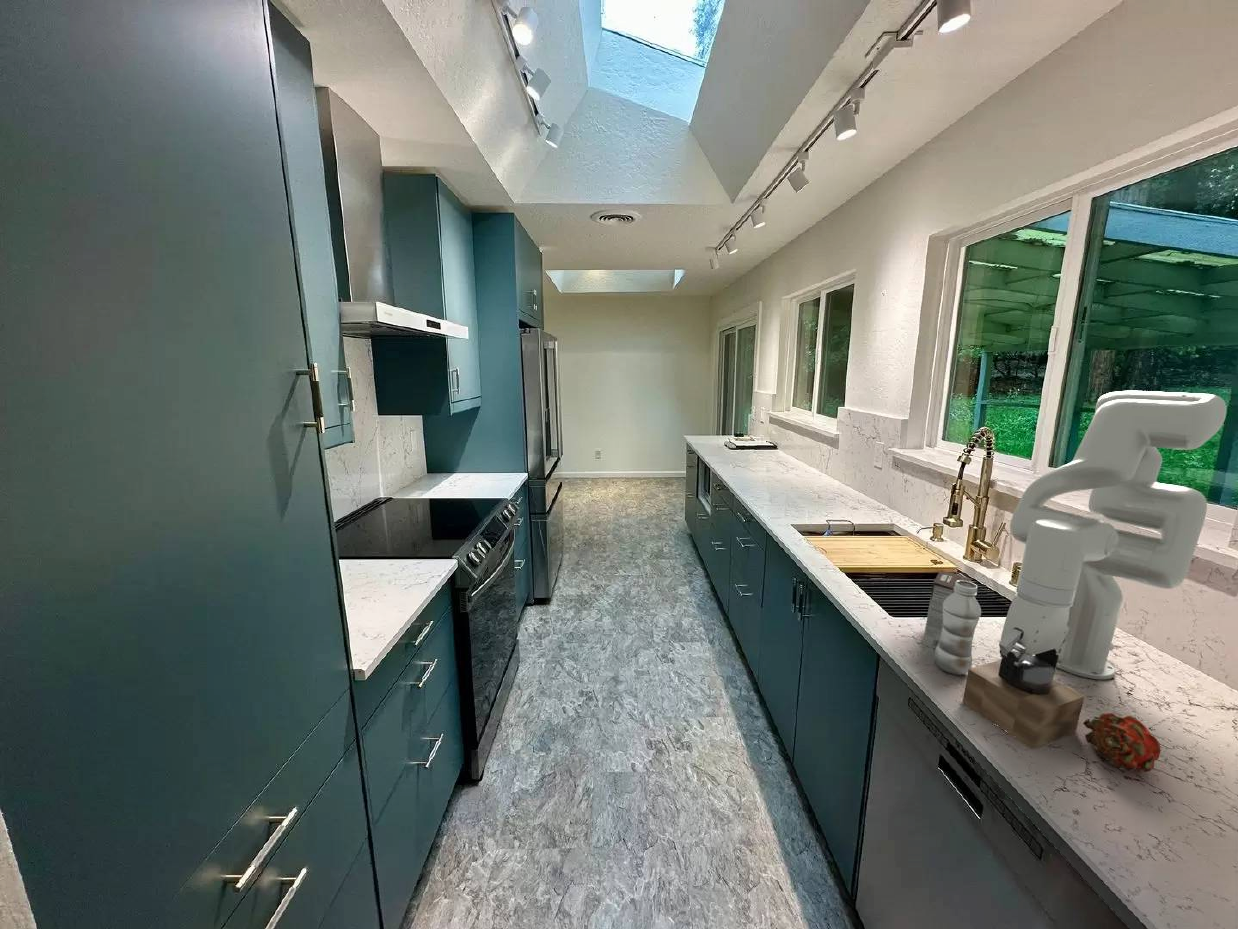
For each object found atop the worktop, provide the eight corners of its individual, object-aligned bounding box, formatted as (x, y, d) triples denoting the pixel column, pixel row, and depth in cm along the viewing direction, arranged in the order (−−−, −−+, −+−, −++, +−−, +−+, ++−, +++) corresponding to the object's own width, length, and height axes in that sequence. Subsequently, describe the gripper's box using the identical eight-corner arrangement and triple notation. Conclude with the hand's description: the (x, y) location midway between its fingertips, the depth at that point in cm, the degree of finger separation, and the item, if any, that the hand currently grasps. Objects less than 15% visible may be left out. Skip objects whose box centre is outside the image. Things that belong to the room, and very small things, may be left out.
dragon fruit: (1109, 788, 75) (1105, 755, 84) (1182, 787, 70) (1170, 751, 79) (1075, 731, 78) (1075, 705, 87) (1143, 726, 73) (1136, 698, 81)
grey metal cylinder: (1009, 698, 93) (1020, 648, 90) (1051, 723, 86) (1064, 670, 84) (984, 706, 90) (995, 655, 88) (1026, 733, 84) (1038, 678, 82)
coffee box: (930, 629, 117) (940, 569, 114) (961, 640, 113) (973, 578, 109) (921, 644, 111) (931, 581, 107) (954, 656, 106) (966, 591, 103)
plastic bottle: (976, 681, 98) (993, 593, 94) (940, 676, 99) (955, 589, 95) (960, 662, 104) (976, 579, 100) (927, 658, 106) (941, 575, 101)
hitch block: (1003, 689, 96) (1010, 656, 94) (1075, 732, 85) (1084, 696, 83) (962, 702, 92) (968, 669, 90) (1032, 749, 81) (1041, 712, 79)
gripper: (1051, 574, 89) (1033, 654, 93) (989, 587, 83) (972, 672, 87) (1102, 592, 82) (1080, 677, 86) (1038, 608, 77) (1017, 699, 80)
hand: (1026, 675), depth 87 cm, fingers open, 9 cm apart
